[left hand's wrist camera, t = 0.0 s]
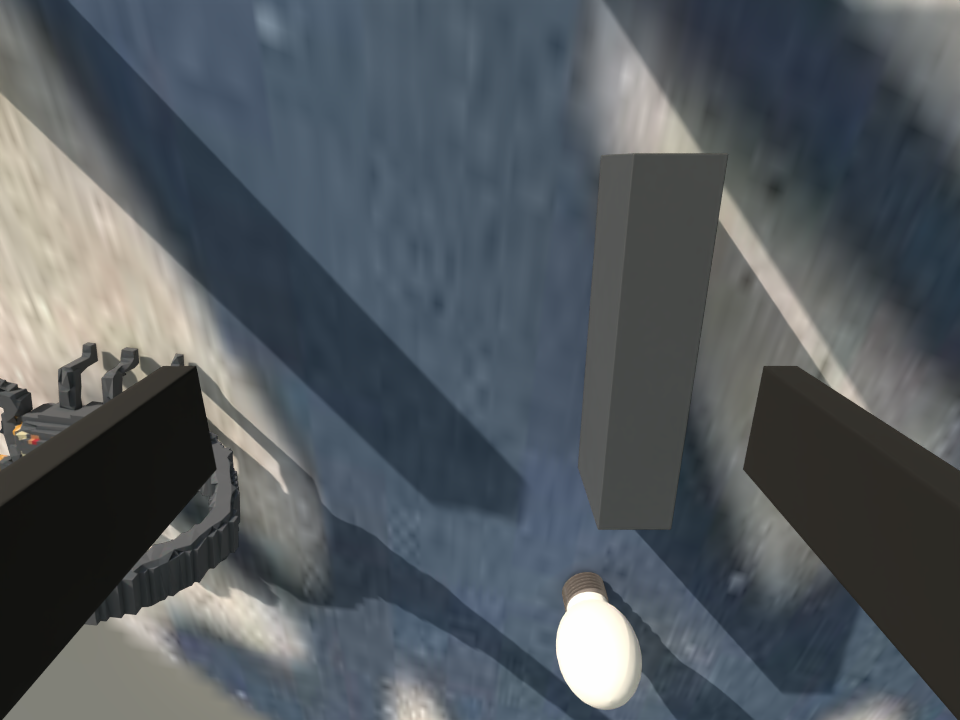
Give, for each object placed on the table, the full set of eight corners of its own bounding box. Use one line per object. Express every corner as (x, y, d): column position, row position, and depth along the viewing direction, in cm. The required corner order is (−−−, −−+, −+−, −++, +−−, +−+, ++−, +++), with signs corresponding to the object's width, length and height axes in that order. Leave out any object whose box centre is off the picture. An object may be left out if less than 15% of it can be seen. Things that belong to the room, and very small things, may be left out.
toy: (296, 509, 47) (189, 712, 29) (-19, 473, 45) (-324, 663, 28) (299, 369, 42) (174, 513, 25) (-52, 324, 41) (-440, 443, 24)
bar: (601, 155, 37) (633, 153, 29) (676, 155, 37) (728, 153, 29) (577, 467, 45) (597, 529, 38) (638, 467, 45) (671, 529, 38)
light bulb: (579, 548, 48) (606, 653, 38) (634, 584, 49) (675, 695, 39) (532, 594, 50) (545, 707, 40) (586, 627, 51) (613, 744, 41)
